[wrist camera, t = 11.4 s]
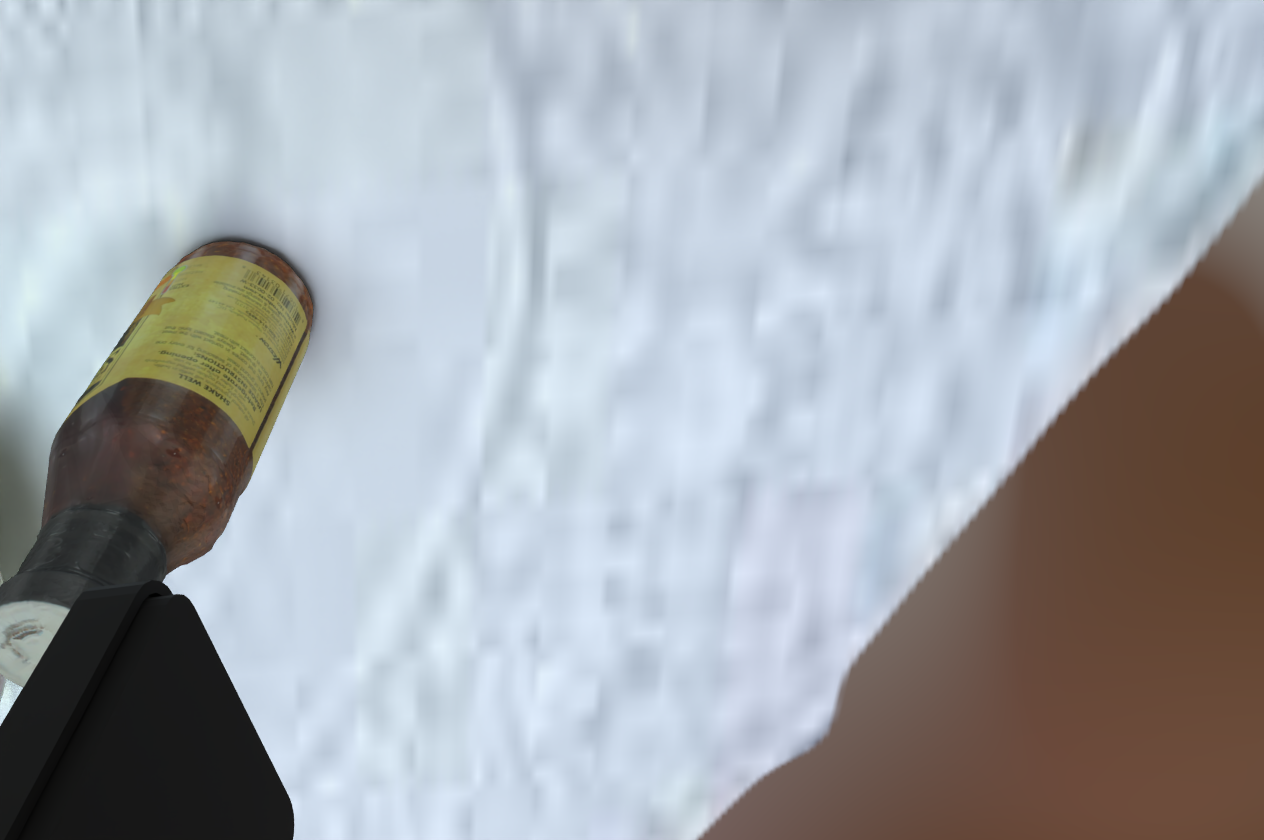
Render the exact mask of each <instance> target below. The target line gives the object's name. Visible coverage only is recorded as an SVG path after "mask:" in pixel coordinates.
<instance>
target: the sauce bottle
mask: <svg viewBox="0 0 1264 840" xmlns="http://www.w3.org/2000/svg"><path fill="white" fill-rule="evenodd" d="M312 317H313V304H312V301H311V298H310V294H309V292H308V290H307V288H306V287H305V285H304V284H303V282H302V280H301V279H300V278H299V277H298V276H297V275H296V274H295V272H294V271H293V269H292V268H291V267H290V266H289V265H288V264H287V263H286V262H284V261H283V260H282V259H280V258H279V257H278V256H276V255H274V254H272V253H270V252H269V251H268V250H266V249H264V248H262V247H257V246H253V245H251V244H247V243H245V242H240V243H238V242H231V241H225V242H214V243H211V244H207V245H204V246H202V247H200V248H198V249H197V250H195V251H194V252H192V253H191V254H189V255H187V256H185V257H183V258H182V259H181V260H180V262H179V263H178V264H177V265H176V266H175V267H174V268H172V269H171V270H170V271H169V272H167V274H166V275H165V276H164V277H163V279H162V280H161V282H160V283H159V284H158V286H157V287H156V289H155V290H154V292H153V293H152V295H151V296H150V297H149V299H148V300H147V302H146V303H145V305H144V306H143V308H142V309H141V311H140V312H139V314H138V315H137V316H136V318H135V319H134V321H133V322H132V324H131V325H130V327H129V328H128V329H127V331H126V332H125V333H124V335H123V337H122V338H121V339H120V341H119V342H118V344H117V345H116V347H115V348H114V350H113V351H112V353H111V354H110V356H109V357H108V358H107V360H106V361H105V362H104V364H103V365H102V367H101V368H100V369H99V371H98V372H97V374H96V375H95V377H94V379H93V380H92V382H91V383H90V385H89V386H88V388H87V389H86V391H85V392H84V394H83V395H82V396H81V397H80V398H79V400H78V401H77V403H76V405H75V406H74V408H73V409H72V411H71V412H70V414H69V415H68V417H67V418H66V420H65V421H64V423H63V424H62V426H61V427H60V429H59V431H58V432H57V434H56V436H55V438H54V441H53V444H52V447H51V452H50V457H49V468H48V476H47V484H46V492H45V500H44V509H43V517H42V528H41V530H40V532H39V534H38V536H37V541H36V543H35V545H34V546H33V548H32V549H31V551H30V552H29V554H28V555H27V557H26V559H25V560H24V562H23V563H22V565H21V567H20V569H19V571H18V573H17V574H16V575H15V576H14V577H12V578H11V579H10V580H8V581H7V582H5V583H3V584H2V585H1V586H0V674H2V675H3V676H4V677H5V678H7V679H8V680H10V681H12V682H14V683H15V684H17V685H19V686H21V687H24V686H25V684H26V682H27V681H28V679H29V677H30V676H31V674H32V672H33V671H34V669H35V667H36V666H37V664H38V662H39V661H40V659H41V657H42V656H43V654H44V652H45V651H46V649H47V647H48V646H49V644H50V642H51V641H52V639H53V637H54V636H55V634H56V632H57V631H58V629H59V627H60V626H61V624H62V622H63V621H64V619H65V617H66V616H67V614H68V612H69V611H70V609H71V607H72V606H73V604H74V602H75V601H76V599H77V598H78V597H79V596H80V595H81V594H82V592H84V591H86V590H88V589H90V588H93V587H101V586H108V585H116V584H124V583H132V582H140V581H148V580H156V581H161V582H163V580H164V579H165V576H166V575H167V574H168V573H170V572H171V571H173V570H174V569H176V568H177V567H179V566H181V565H185V564H188V563H190V562H192V561H194V560H196V559H197V558H199V557H201V556H203V555H205V554H206V553H207V552H209V551H210V550H211V549H212V547H213V545H214V543H215V542H216V540H217V539H218V538H219V536H221V535H222V533H223V531H224V529H225V527H226V525H227V523H228V521H229V519H230V517H231V514H232V512H233V510H234V507H235V505H236V502H237V500H238V498H239V496H240V495H241V494H242V493H243V492H244V490H245V489H246V487H247V485H248V483H249V481H250V479H251V477H252V475H253V472H254V470H255V468H256V465H257V463H258V461H259V458H260V456H261V454H262V451H263V449H264V447H265V445H266V442H267V440H268V438H269V435H270V433H271V431H272V429H273V426H274V424H275V422H276V419H277V417H278V415H279V412H280V410H281V408H282V405H283V403H284V401H285V398H286V396H287V394H288V392H289V389H290V387H291V385H292V383H293V380H294V378H295V376H296V373H297V371H298V369H299V367H300V364H301V362H302V360H303V358H304V355H305V353H306V350H307V347H308V344H309V337H310V331H311V326H312Z"/></svg>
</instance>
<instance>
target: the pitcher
mask: <svg viewBox="0 0 1264 840" xmlns="http://www.w3.org/2000/svg"><path fill="white" fill-rule="evenodd" d="M3 583H4V582H3V579H2V575H1V572H0V586H1V585H2V584H3ZM5 683H6V678H5V677H4V676H3V675H2V674H0V701H1V698H2V694H3V691H4V687H5Z"/></svg>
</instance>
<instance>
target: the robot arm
mask: <svg viewBox="0 0 1264 840" xmlns="http://www.w3.org/2000/svg"><path fill="white" fill-rule="evenodd" d="M293 836H294V813H293V808H292V804H291V801H290V798H289V796H288V794H287V792H286V790H285V788H284V786H283V784H282V782H281V780H280V778H279V776H278V774H277V772H276V770H275V768H274V766H273V764H272V762H271V760H270V758H269V756H268V754H267V752H266V750H265V748H264V746H263V744H262V742H261V740H260V738H259V736H258V734H257V732H256V730H255V728H254V726H253V724H252V722H251V720H250V718H249V716H248V714H247V712H246V710H245V708H244V706H243V704H242V702H241V700H240V698H239V696H238V694H237V692H236V690H235V688H234V686H233V684H232V682H231V680H230V678H229V676H228V674H227V672H226V670H225V668H224V666H223V664H222V662H221V660H220V658H219V656H218V654H217V652H216V650H215V648H214V645H213V643H212V641H211V639H210V637H209V635H208V633H207V631H206V629H205V627H204V625H203V623H202V621H201V619H200V617H199V615H198V613H197V611H196V609H195V607H194V606H193V604H192V603H191V601H190V600H189V599H188V598H187V597H186V596H184V595H180V594H176V595H173V594H172V592H171V591H170V589H169V588H168V586H166V585H165V584H163V583H162V582H161V581H156V580H148V581H140V582H132V583H124V584H116V585H108V586H101V587H93V588H90V589H88V590H86V591H84V592H82V594H81V595H80V596H79V597H78V598H77V599H76V601H75V602H74V604H73V606H72V607H71V609H70V611H69V612H68V614H67V616H66V617H65V619H64V621H63V622H62V624H61V626H60V627H59V629H58V631H57V632H56V634H55V636H54V637H53V639H52V641H51V642H50V644H49V646H48V647H47V649H46V651H45V652H44V654H43V656H42V657H41V659H40V661H39V662H38V664H37V666H36V667H35V669H34V671H33V672H32V674H31V676H30V677H29V679H28V681H27V682H26V684H25V686H24V687H23V689H22V691H21V692H20V694H19V696H18V697H17V699H16V701H15V702H14V704H13V706H12V707H11V709H10V711H9V713H8V714H7V716H6V718H5V719H4V721H3V723H2V724H1V726H0V840H293Z"/></svg>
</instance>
